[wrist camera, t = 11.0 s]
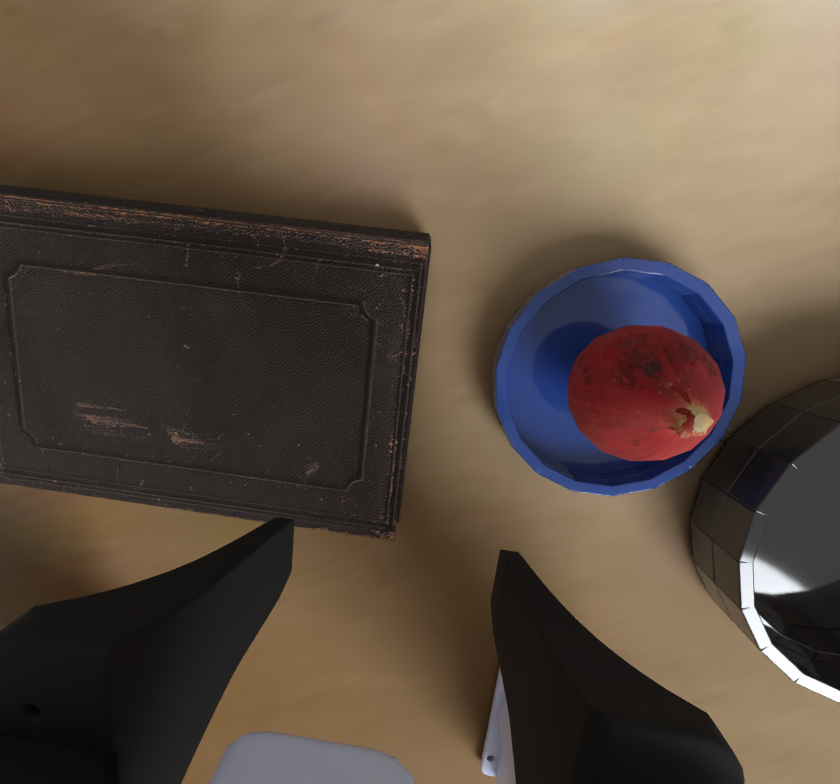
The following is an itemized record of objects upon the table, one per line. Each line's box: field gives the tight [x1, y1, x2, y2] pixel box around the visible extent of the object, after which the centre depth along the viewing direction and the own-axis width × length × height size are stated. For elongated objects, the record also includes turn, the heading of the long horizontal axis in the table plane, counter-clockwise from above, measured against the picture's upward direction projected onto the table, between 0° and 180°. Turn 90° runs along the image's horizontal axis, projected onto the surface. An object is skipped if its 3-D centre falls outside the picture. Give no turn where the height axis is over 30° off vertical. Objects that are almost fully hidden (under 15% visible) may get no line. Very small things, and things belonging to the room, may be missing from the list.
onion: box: [567, 325, 725, 461], centre depth 17 cm, size 6×6×8 cm
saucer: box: [492, 257, 746, 496], centre depth 20 cm, size 12×12×2 cm
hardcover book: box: [0, 185, 431, 541], centre depth 21 cm, size 16×23×2 cm
